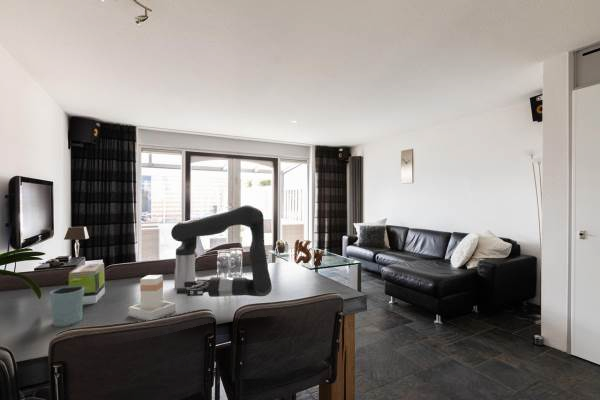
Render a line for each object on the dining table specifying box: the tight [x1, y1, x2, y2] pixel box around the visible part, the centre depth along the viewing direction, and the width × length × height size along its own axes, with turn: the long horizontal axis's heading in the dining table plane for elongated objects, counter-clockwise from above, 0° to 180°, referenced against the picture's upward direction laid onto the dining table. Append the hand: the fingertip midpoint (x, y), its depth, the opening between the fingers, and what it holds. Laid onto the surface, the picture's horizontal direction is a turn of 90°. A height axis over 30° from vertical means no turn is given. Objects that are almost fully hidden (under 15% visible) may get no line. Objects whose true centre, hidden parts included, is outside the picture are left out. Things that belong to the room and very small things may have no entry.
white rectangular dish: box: [128, 300, 176, 321], centre depth 117 cm, size 13×11×4 cm
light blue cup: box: [49, 286, 84, 327], centre depth 110 cm, size 10×10×12 cm
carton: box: [139, 274, 164, 311], centre depth 117 cm, size 6×6×14 cm
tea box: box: [68, 262, 106, 306], centre depth 134 cm, size 15×10×15 cm
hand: (180, 287), depth 118 cm, fingers open, 8 cm apart
